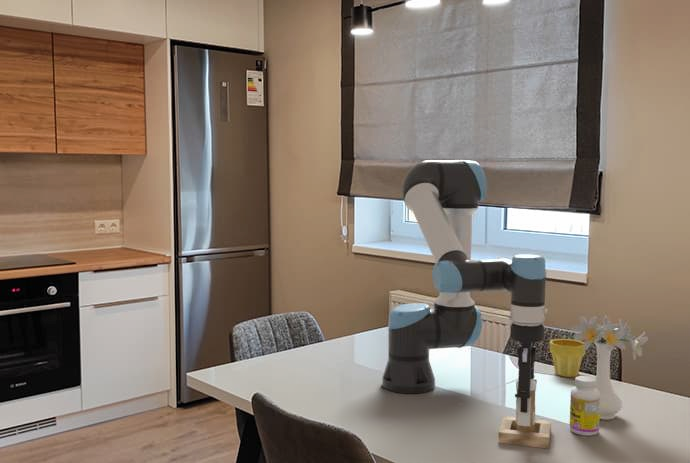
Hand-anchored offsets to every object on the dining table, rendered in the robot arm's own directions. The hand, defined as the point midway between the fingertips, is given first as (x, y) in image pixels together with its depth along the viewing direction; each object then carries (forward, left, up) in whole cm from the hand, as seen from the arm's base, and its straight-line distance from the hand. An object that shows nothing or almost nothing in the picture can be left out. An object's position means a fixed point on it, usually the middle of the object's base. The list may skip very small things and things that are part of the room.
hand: (525, 418), depth 164 cm
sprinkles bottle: (0, 0, -5) cm, 5 cm away
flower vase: (+18, +21, -5) cm, 28 cm away
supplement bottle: (+13, +8, -5) cm, 16 cm away
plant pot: (+8, +57, -5) cm, 58 cm away
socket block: (0, 0, -5) cm, 5 cm away
